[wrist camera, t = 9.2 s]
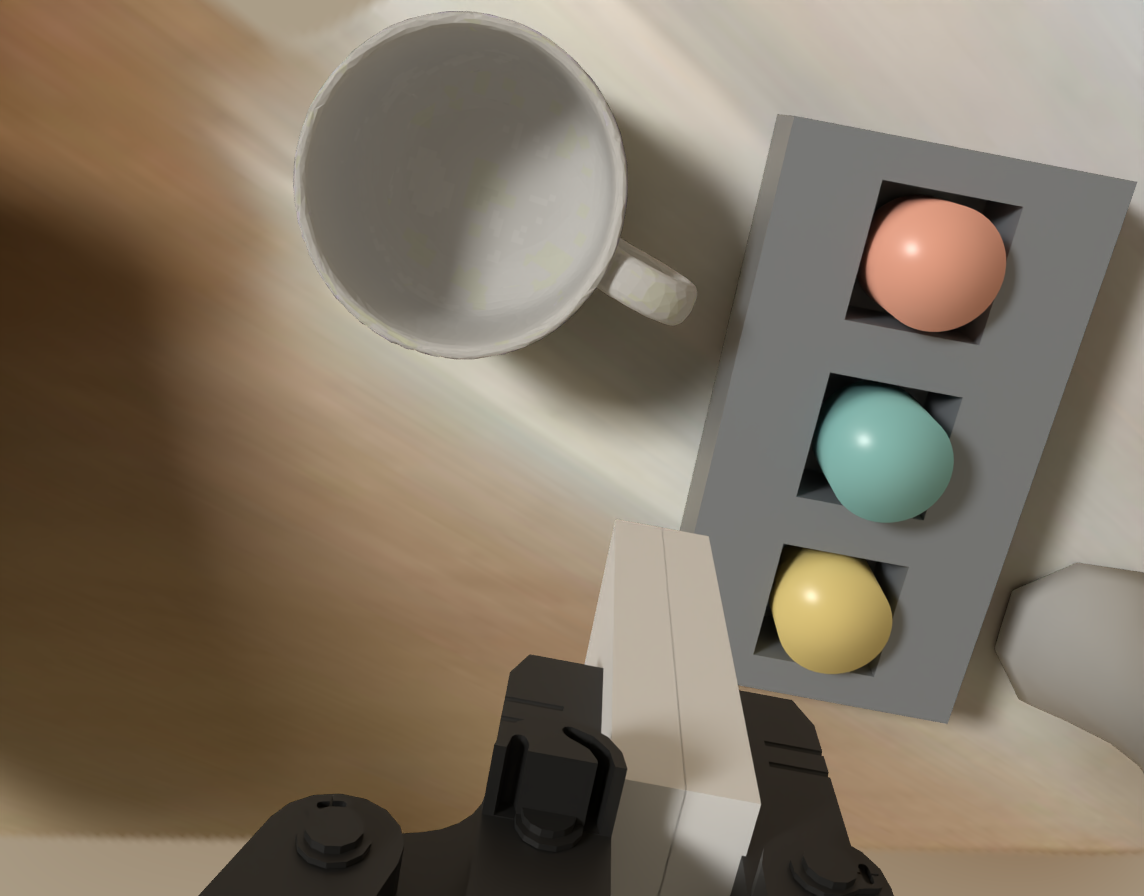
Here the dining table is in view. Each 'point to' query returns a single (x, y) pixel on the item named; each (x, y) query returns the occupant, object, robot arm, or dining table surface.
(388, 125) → the teacup
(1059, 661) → the flask
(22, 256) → the dining table surface
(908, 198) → the salmon orange ball
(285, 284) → the dining table surface
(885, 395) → the teal button
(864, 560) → the mustard button
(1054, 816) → the dining table surface
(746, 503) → the console
